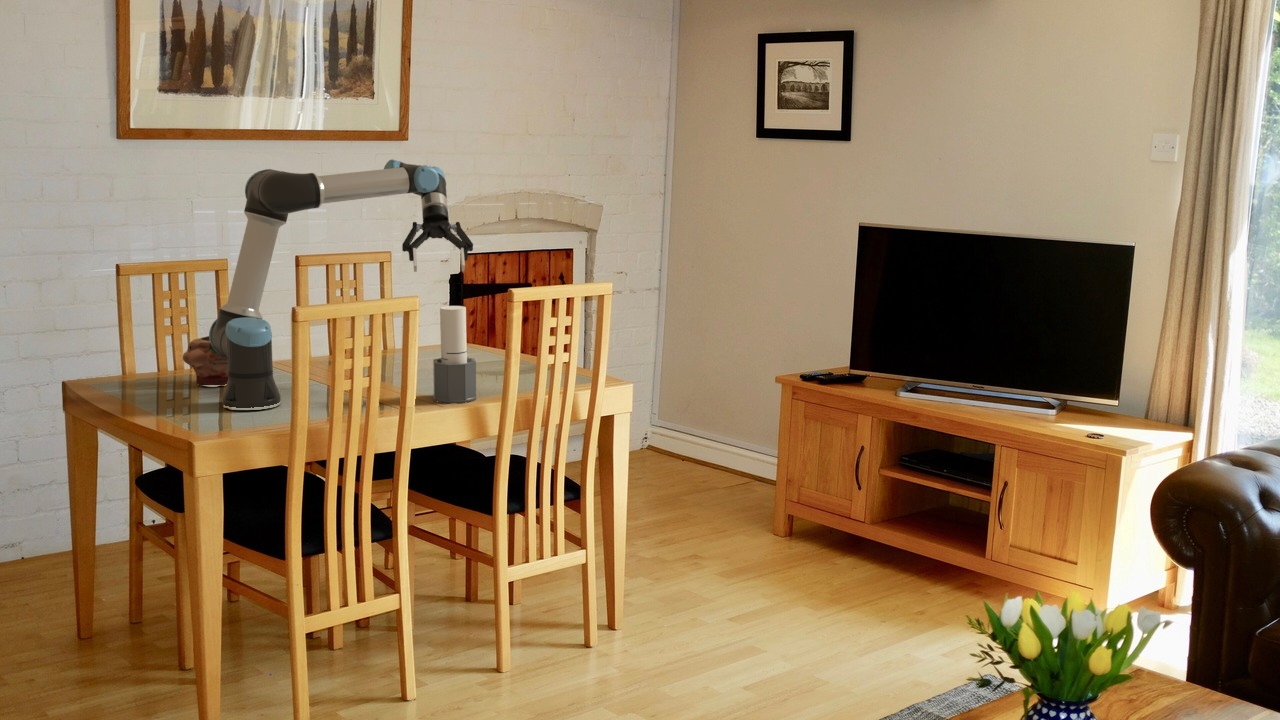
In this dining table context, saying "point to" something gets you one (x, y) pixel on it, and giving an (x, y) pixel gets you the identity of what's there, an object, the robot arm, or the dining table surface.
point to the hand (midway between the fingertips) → (439, 268)
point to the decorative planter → (206, 362)
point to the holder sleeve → (454, 381)
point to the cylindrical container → (453, 334)
